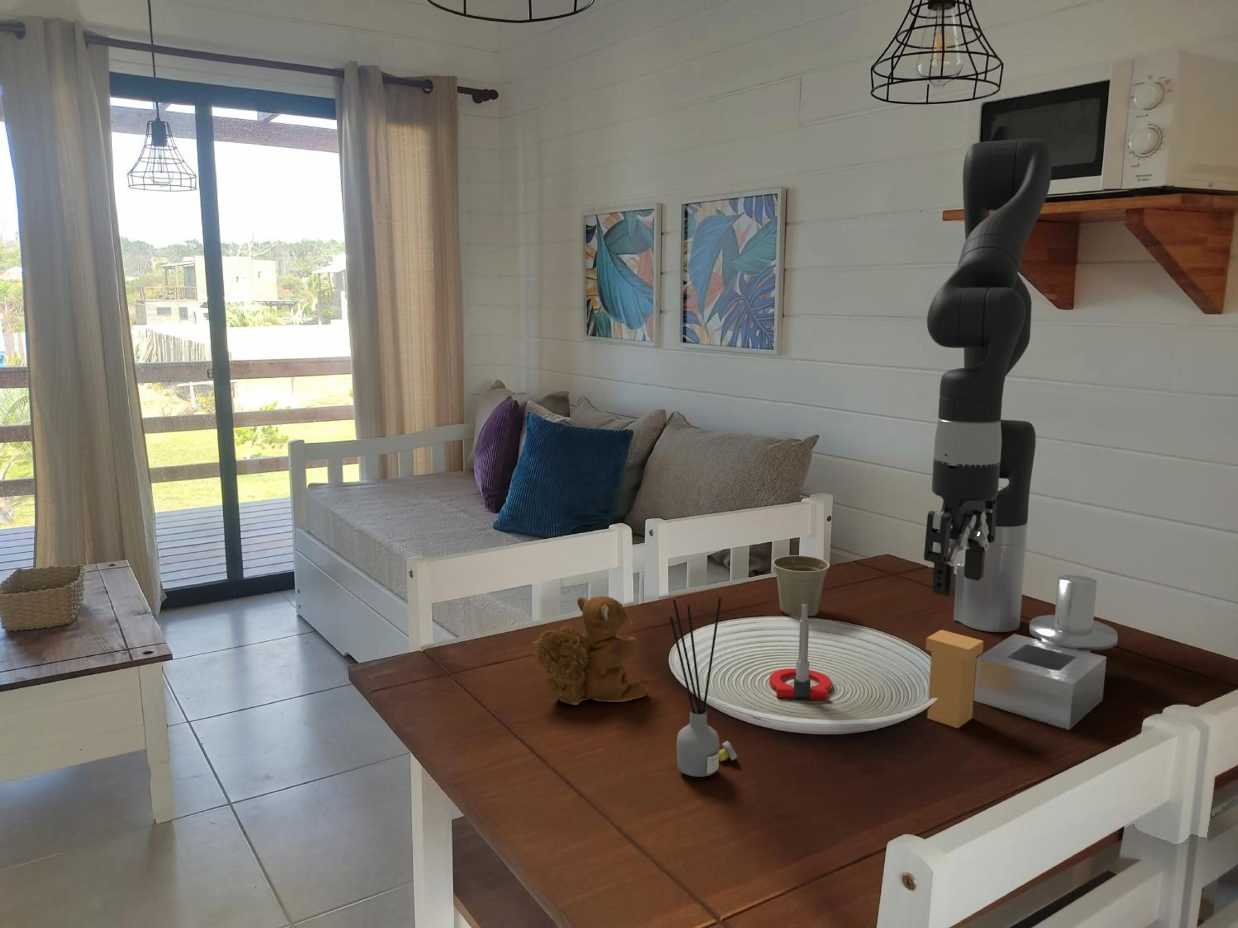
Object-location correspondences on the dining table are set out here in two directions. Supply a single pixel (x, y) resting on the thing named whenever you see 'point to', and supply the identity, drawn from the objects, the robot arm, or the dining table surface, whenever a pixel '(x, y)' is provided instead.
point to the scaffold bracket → (1050, 661)
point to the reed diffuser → (698, 720)
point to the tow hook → (801, 672)
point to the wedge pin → (952, 676)
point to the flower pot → (800, 582)
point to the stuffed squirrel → (590, 655)
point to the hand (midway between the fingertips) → (958, 586)
